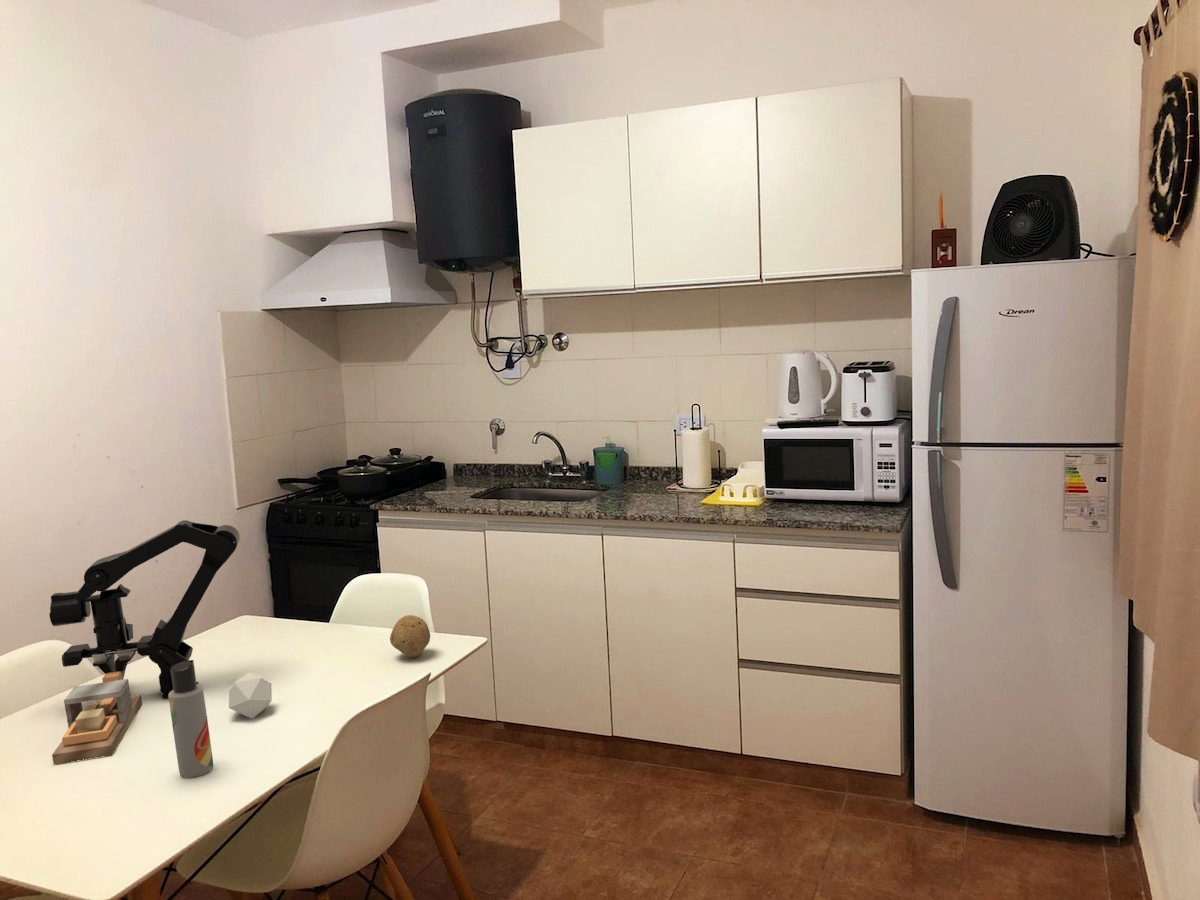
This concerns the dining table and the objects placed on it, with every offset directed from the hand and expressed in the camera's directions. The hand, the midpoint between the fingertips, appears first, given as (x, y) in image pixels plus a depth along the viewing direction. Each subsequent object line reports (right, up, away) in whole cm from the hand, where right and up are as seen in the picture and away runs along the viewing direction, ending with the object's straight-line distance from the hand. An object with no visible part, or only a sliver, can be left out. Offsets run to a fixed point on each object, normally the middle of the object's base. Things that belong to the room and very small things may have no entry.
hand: (119, 687), depth 203 cm
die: (+33, -3, -11) cm, 35 cm away
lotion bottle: (+32, -6, -35) cm, 47 cm away
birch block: (+5, -4, -20) cm, 21 cm away
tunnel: (+4, -5, -15) cm, 16 cm away
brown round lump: (+60, +3, +15) cm, 62 cm away
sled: (+3, -2, -13) cm, 14 cm away
